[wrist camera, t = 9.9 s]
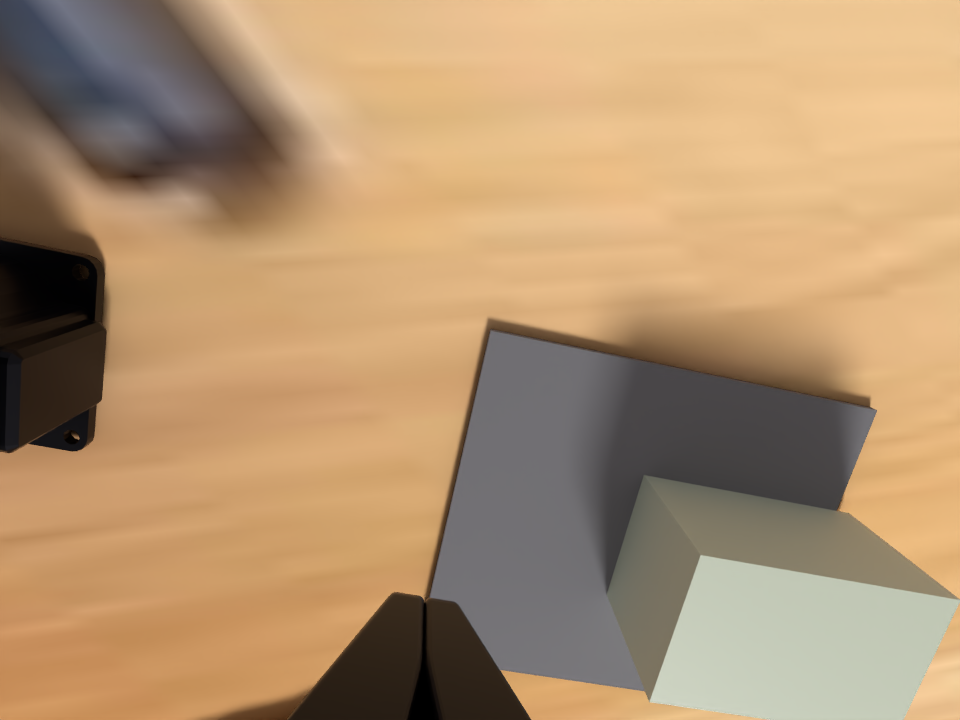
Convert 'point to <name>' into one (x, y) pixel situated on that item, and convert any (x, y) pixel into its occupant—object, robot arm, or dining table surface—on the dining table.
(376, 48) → the dining table surface
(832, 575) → the sage block
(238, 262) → the dining table surface
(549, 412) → the rubber mat
